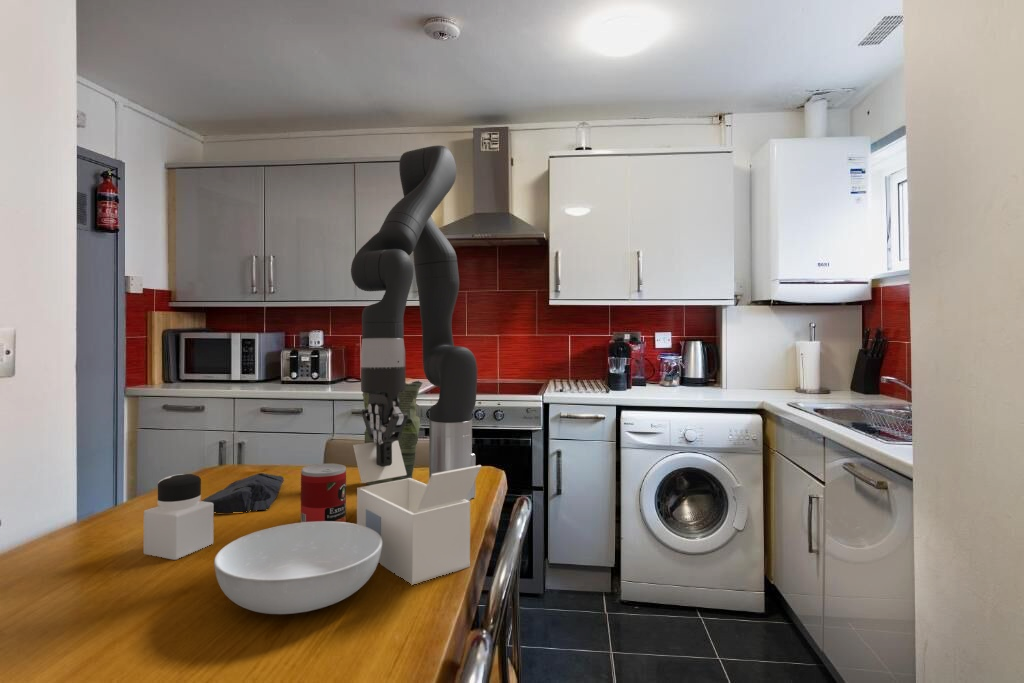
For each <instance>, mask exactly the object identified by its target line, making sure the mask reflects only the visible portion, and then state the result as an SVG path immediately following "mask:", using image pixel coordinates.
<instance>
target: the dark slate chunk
mask: <svg viewBox="0 0 1024 683" xmlns="http://www.w3.org/2000/svg"><path fill="white" fill-rule="evenodd" d="M284 482H285V480H284V477H283V476H282V475H275V474H274V475H273V474H268V473H264V472H258V473H256V474H252V475H250V476H247V477H245V478H241V479H238V480H235V481H233V482H232V483H230V484H228V485H227V486H226V487H224V488H223V489H221V490H219V491H216V492H215V493H213V494H210V495H209V496H208V497H205V498H204V499H202V500H201V501H204V502H211V503H213V504H214V512H216V513H233V512H246V511H247V512H246V513H250V512H249V511H250V510H251V511H256V510H265V511H267V510H266V509H268V510H269V509H270V507H271V505H273V503H274V501H275V500H276V499H277V497H278V494H279V493H280V490H281V488H282V484H283V483H284ZM256 512H257V511H256Z"/></svg>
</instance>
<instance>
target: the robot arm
mask: <svg viewBox="0 0 1024 683" xmlns="http://www.w3.org/2000/svg"><path fill="white" fill-rule="evenodd" d="M398 164H399V166H398V167H399V169H398V170H399V178H400V183H401V188H402V193H403V194H402V195H403V198H401V199H400V200H399V201H398V202H397V203H395V205H394V206H393V207H392V208H391V209H390V210H389V212H388V214H387V215H386V217H385V219H384V220H383V223H382V225H381V227H380V229H379V231H378V232H377V233H376V234H373V236H372V237H371V238H369V239H368V241H367V242H366V243H365V244H363V246H361V247H360V249H358V251H357V252H356V253H355V255H354V257H353V259H352V262H351V265H350V267H351V268H350V277H351V280H352V282H353V284H354V285H355V286H356V287H357V288H358V289H359V290H361V291H364V292H382V291H383V292H384V293H383V294H384V295H383V297H381V298H382V299H381V300H380V301H378V302H376V303H372V304H369V305H367V306H365V307H364V308H363V309H362V312H361V326H362V327H361V333H362V334H361V338H362V339H361V347H360V391H361V393H362V394H363V393H368V394H369V399H368V408H367V409H365V408H363V409H362V410H361V417H362V418H363V422H364V426H365V429H366V428H367V431H368V434H369V437H370V439H374V443H375V444H376V463H377V465H379V466H382V467H384V466H390V465H391V464H392V443H394V441H398V440H399V438H400V436H401V433H402V431H403V429H404V426H405V424H406V421H407V419H408V415H407V413H402V412H401V411H400V409H399V408H400V401H399V396H398V394H399V393H400V392H403V391H405V389H406V383H407V382H406V348H405V341H404V340H405V339H404V333H405V332H404V328H405V327H404V315H405V310H406V306H407V302H408V298H409V294H410V291H411V287H412V283H413V278H414V273H415V280H416V281H415V282H416V287H417V294H418V303H419V304H418V305H419V313H420V322H421V335H422V342H421V343H422V367H423V372H424V376H425V378H426V380H427V381H428V382H429V383H430V384H432V385H433V386H435V387H438V388H439V394H438V399H437V401H436V403H434V404H433V405H431V407H430V408H429V416H428V417H429V425H428V426H429V428H428V429H429V430H428V431H429V433H428V435H429V438H428V440H429V442H428V443H429V446H428V447H429V448H428V451H429V452H428V454H429V455H428V457H429V458H428V460H429V462H428V465H429V466H428V480H429V479H430V476H431V474H434V473H439V472H445V471H450V470H456V469H461V468H466V467H472V466H476V461H477V460H476V454H475V453H473V449H472V448H473V444H472V443H473V429H472V428H473V412H474V410H475V407H476V403H477V387H478V365H477V359H476V357H475V355H474V353H473V352H472V351H471V350H470V349H469V348H467V347H465V346H460V345H459V346H458V345H455V344H454V338H453V337H454V336H453V330H452V326H453V325H452V321H453V314H454V310H455V307H456V303H457V302H456V301H457V299H458V296H459V292H460V291H459V290H460V275H459V266H458V264H459V263H458V257H457V254H456V251H455V248H454V247H453V245H452V244H451V243H450V241H449V240H448V238H447V237H446V236H445V234H444V233H443V232H442V231H441V230H440V228H439V226H437V224H436V222H435V221H434V219H433V218H432V215H433V213H434V212H435V210H437V208H438V206H439V205H440V204H441V203H442V201H443V200H444V199H445V197H447V194H448V193H449V192H450V191H451V189H452V188H453V187H454V184H455V183H456V180H457V179H456V178H457V165H456V160H455V157H454V156H453V154H452V152H451V150H450V149H449V148H448V147H446V146H445V145H432V146H431V145H430V146H426V147H421V148H417V149H413V150H408V151H405V152H403V153H402V155H401V156H400V158H399V163H398ZM411 254H413V261H412V259H411V256H410V255H411ZM394 432H395V433H394ZM474 498H476V480H475V481H474V484H473V486H472V488H471V490H470V492H469V494H468V496H467V499H466V500H468V501H470V500H472V499H474Z"/></svg>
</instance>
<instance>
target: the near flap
mask: <svg viewBox="0 0 1024 683" xmlns="http://www.w3.org/2000/svg"><path fill="white" fill-rule="evenodd" d="M481 468H482V465H481V464H478V465H475V466H472V467H466V468H461V469H456V470H450V471H445V472H439V473H434V474H431V476H430V479H429V478H428V481H427V483H426V484H427V486H426V488H425V491H424V493H423V496H422V498H421V501H420V503H419V505H418V508H417V509H418V510H420V509H425V508H429V507H433V506H437V505H442V504H446V503H450V502H455V501H459V500H463V499H467V496H468V494H469V492H470V490H471V488H472V486H473V484H474V481H475V482H476V479H477V477H478V475H479V473H480V470H481Z"/></svg>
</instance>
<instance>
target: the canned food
mask: <svg viewBox="0 0 1024 683" xmlns="http://www.w3.org/2000/svg"><path fill="white" fill-rule="evenodd" d="M346 468H347V467H346V465H343V464H339V463H317V464H315V463H314V464H311V465H307V466H305V467H302V468H301V472H300V523H301V522H315V521H335V522H346V521H347V520H346V518H347V516H346V515H347V513H346V512H347V469H346Z"/></svg>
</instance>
